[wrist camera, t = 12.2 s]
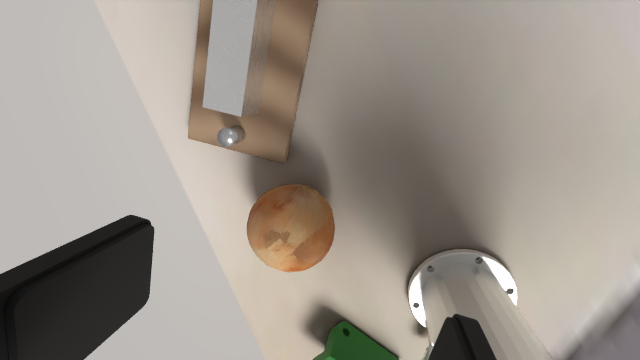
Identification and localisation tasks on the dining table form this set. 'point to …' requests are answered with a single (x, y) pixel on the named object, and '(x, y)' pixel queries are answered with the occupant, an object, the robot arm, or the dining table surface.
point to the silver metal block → (238, 55)
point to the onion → (291, 227)
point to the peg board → (277, 94)
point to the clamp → (352, 346)
